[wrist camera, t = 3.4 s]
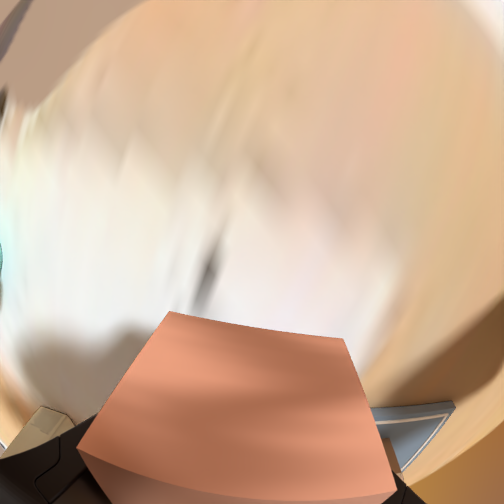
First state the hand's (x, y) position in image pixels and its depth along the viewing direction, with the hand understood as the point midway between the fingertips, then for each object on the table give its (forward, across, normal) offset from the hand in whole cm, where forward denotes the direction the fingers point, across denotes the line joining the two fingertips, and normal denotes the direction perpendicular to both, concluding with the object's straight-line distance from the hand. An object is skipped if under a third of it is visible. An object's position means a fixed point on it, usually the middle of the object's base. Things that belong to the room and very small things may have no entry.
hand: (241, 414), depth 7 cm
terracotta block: (+1, 0, 0) cm, 1 cm away
